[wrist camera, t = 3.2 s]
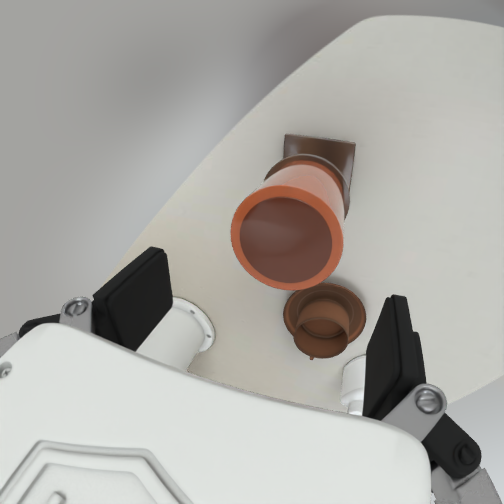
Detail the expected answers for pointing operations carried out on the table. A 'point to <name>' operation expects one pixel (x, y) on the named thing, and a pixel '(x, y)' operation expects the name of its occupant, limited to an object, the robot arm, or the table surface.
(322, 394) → the table surface
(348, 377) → the eye dropper bottle
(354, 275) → the table surface
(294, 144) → the cat scratching post
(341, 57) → the table surface
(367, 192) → the table surface
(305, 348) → the cup and saucer
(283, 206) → the terracotta cup
